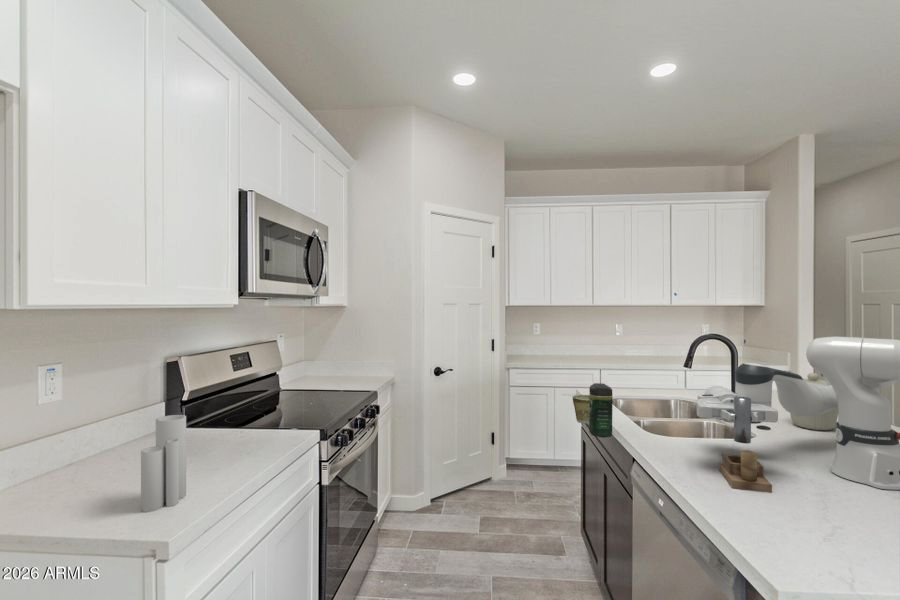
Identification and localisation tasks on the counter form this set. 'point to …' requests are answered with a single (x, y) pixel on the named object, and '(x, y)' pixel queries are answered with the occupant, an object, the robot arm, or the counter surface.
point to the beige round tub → (818, 421)
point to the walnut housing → (744, 472)
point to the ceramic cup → (582, 408)
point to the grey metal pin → (742, 420)
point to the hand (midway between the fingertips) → (743, 418)
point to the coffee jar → (600, 410)
